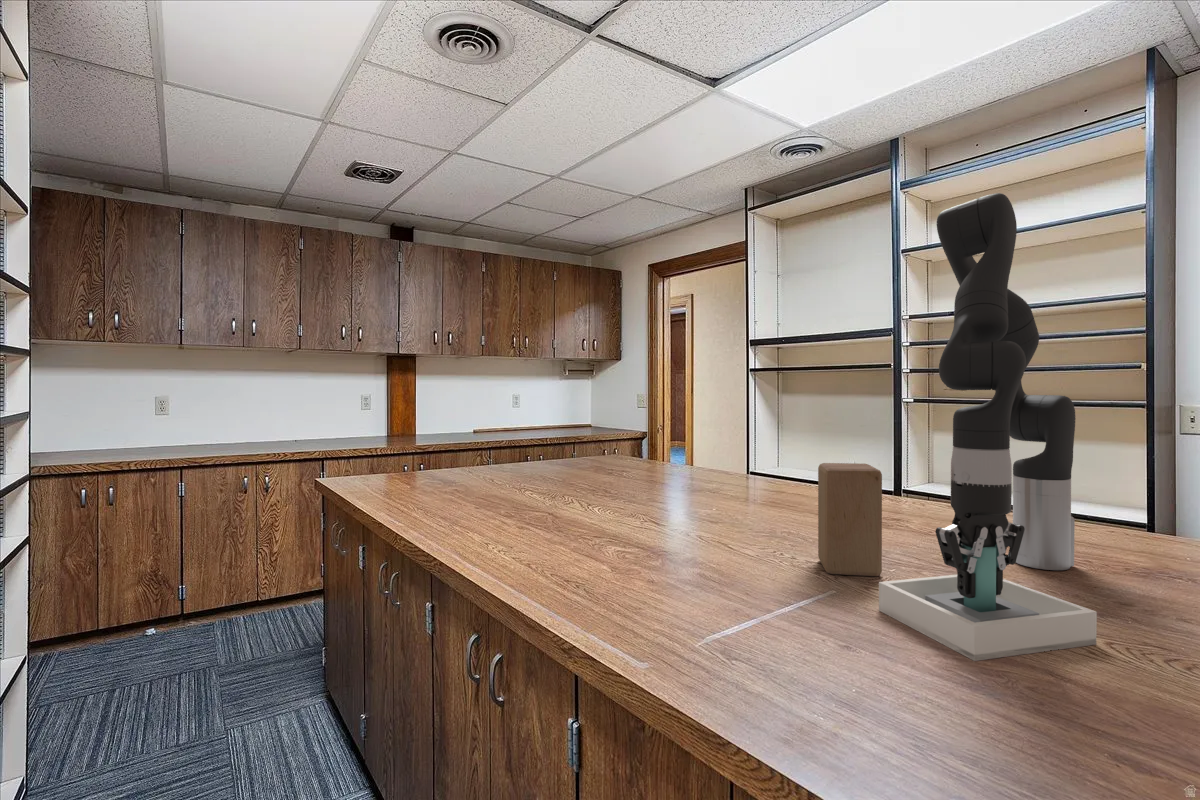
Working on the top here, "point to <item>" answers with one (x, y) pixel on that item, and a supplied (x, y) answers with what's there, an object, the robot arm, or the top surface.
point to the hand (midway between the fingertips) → (979, 594)
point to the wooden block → (850, 519)
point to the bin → (988, 618)
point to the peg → (984, 581)
